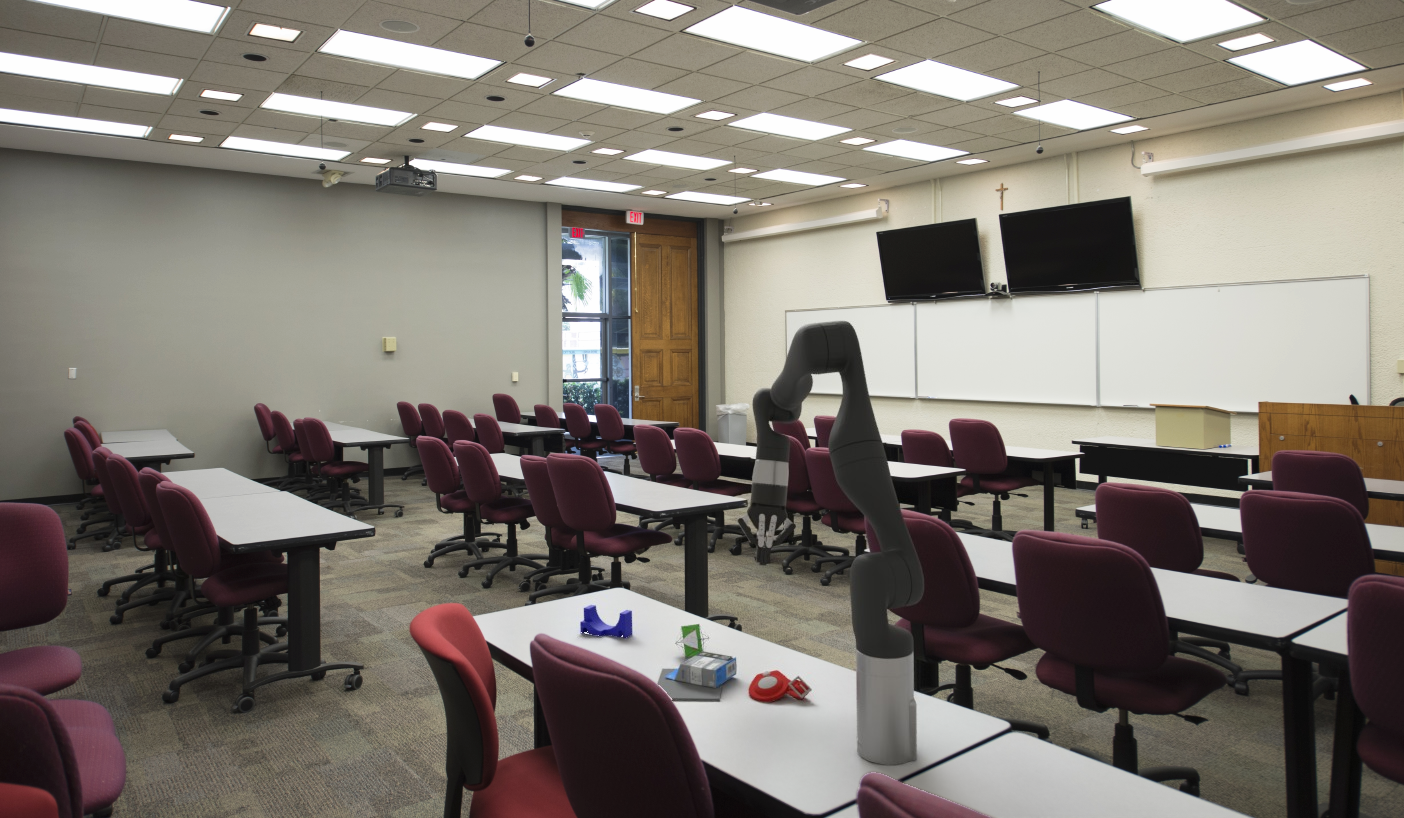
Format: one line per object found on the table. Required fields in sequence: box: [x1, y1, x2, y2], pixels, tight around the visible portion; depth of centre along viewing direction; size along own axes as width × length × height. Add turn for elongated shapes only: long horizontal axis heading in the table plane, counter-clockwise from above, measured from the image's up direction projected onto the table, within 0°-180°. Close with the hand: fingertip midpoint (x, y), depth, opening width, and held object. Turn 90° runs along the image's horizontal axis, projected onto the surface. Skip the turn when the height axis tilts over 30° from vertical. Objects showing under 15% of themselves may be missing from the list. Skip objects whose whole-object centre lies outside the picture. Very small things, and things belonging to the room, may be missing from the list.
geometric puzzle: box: [674, 623, 709, 659], centre depth 190 cm, size 7×7×8 cm
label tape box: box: [665, 650, 738, 688], centre depth 176 cm, size 9×4×12 cm
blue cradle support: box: [579, 604, 633, 639], centre depth 206 cm, size 12×4×6 cm, turn 62°
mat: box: [656, 668, 723, 702], centre depth 172 cm, size 13×16×1 cm
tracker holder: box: [748, 669, 812, 703], centre depth 167 cm, size 12×4×10 cm
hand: (762, 564), depth 180 cm, fingers closed
